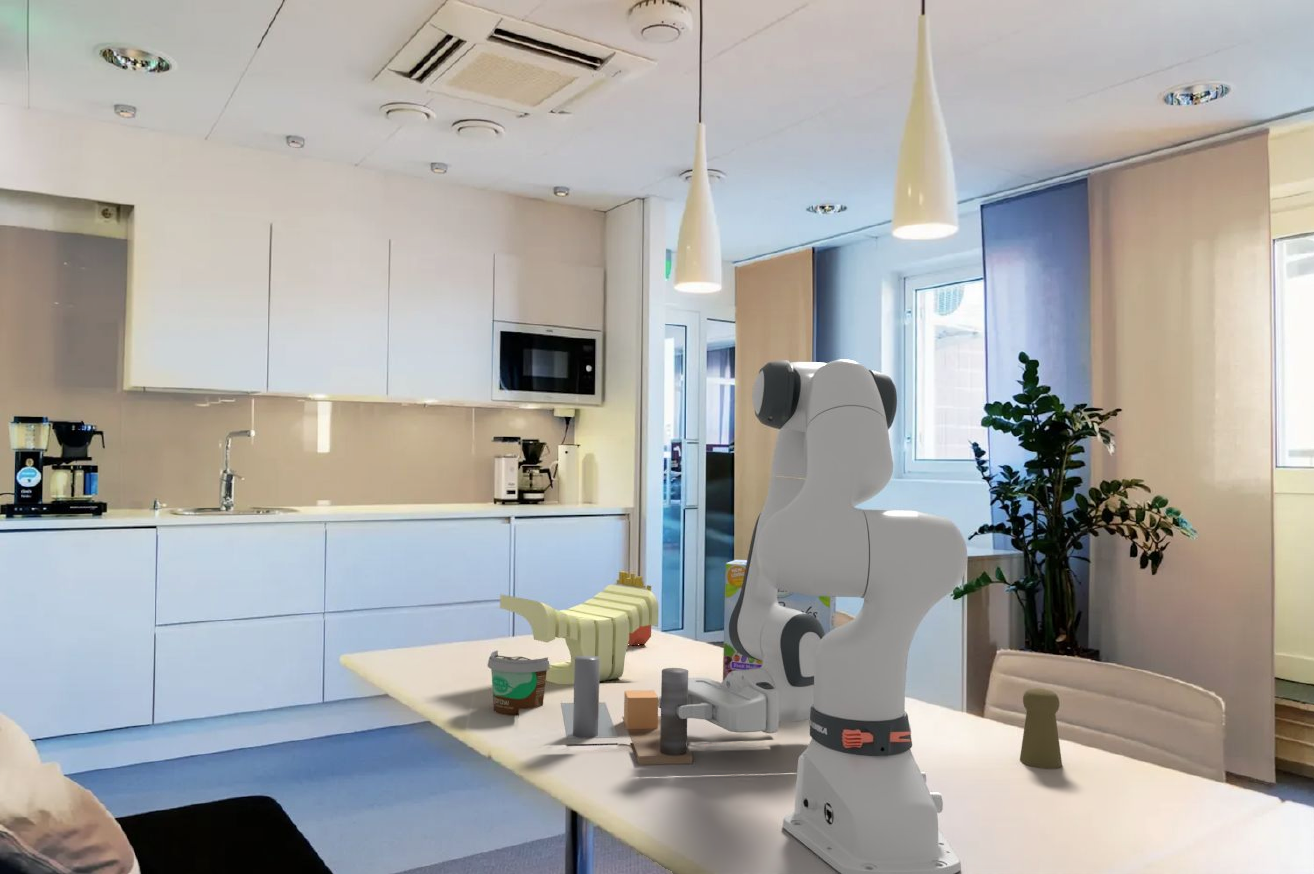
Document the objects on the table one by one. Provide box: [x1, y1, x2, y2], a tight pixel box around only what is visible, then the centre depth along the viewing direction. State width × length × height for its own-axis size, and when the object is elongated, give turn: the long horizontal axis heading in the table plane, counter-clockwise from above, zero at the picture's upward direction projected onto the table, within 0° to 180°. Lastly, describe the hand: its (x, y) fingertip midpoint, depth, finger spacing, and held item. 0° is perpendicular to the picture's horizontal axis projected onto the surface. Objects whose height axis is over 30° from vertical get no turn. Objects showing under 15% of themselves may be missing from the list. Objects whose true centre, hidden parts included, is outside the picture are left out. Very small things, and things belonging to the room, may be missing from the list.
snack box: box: [722, 559, 837, 681], centre depth 181 cm, size 22×9×26 cm, turn 71°
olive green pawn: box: [1019, 688, 1063, 770], centre depth 139 cm, size 6×6×11 cm
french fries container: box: [614, 570, 652, 646], centre depth 230 cm, size 5×11×18 cm, turn 36°
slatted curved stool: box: [499, 584, 659, 685], centre depth 189 cm, size 30×16×18 cm, turn 135°
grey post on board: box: [621, 667, 693, 766], centre depth 144 cm, size 22×8×13 cm, turn 9°
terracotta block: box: [623, 689, 659, 730], centre depth 150 cm, size 5×5×5 cm
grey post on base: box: [560, 656, 619, 747], centre depth 152 cm, size 22×8×13 cm, turn 9°
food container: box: [487, 650, 550, 717], centre depth 160 cm, size 12×6×10 cm, turn 62°
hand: (669, 707), depth 135 cm, fingers closed on grey post on board, 4 cm apart
